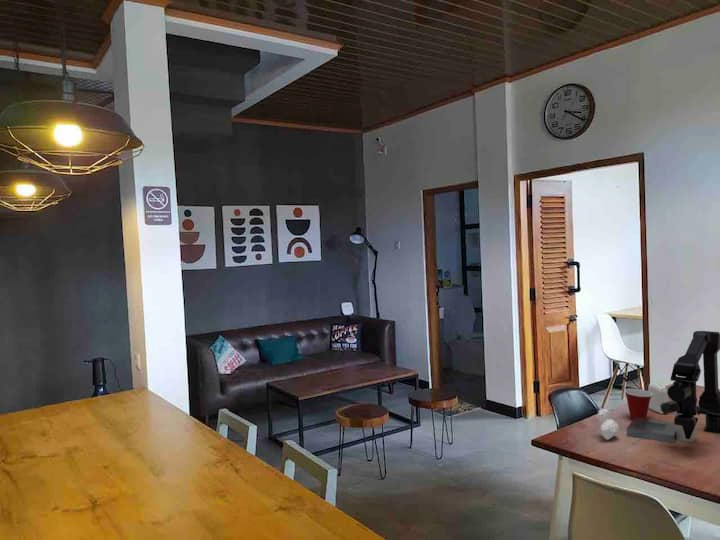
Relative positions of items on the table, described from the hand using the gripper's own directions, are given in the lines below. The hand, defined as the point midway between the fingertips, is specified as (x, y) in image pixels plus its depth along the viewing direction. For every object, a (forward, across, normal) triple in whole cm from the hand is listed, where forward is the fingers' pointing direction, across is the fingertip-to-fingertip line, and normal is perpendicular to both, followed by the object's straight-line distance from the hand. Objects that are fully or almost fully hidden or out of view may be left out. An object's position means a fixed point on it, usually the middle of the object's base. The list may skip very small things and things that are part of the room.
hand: (687, 438), depth 197 cm
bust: (+4, +2, -27) cm, 27 cm away
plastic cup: (+4, -28, -21) cm, 35 cm away
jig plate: (+4, -12, -13) cm, 18 cm away
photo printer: (+4, -44, -16) cm, 47 cm away
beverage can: (+5, -11, -2) cm, 12 cm away
